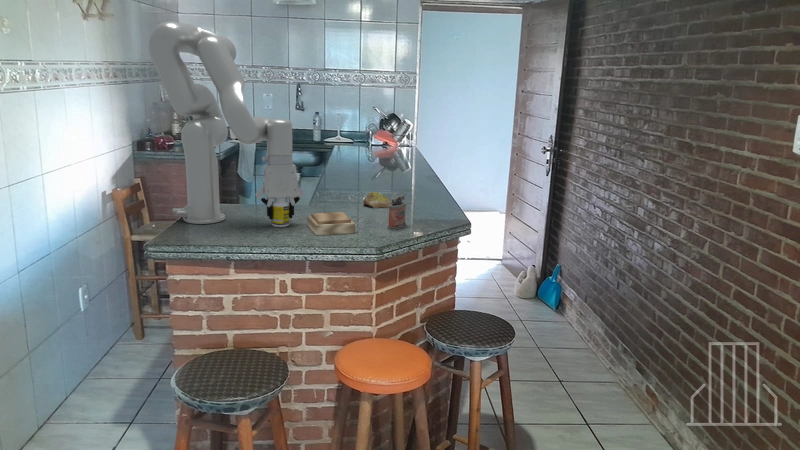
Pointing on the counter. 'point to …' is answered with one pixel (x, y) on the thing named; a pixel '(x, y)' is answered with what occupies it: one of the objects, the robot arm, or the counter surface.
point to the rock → (377, 200)
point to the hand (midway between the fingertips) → (280, 217)
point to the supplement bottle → (280, 212)
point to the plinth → (330, 223)
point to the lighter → (397, 213)
